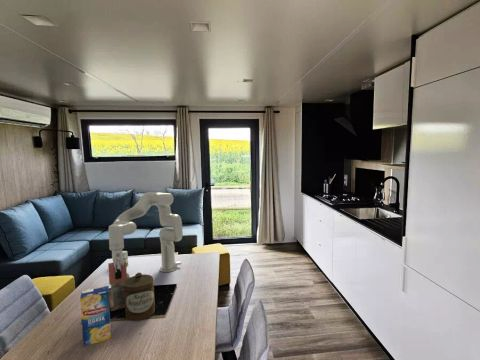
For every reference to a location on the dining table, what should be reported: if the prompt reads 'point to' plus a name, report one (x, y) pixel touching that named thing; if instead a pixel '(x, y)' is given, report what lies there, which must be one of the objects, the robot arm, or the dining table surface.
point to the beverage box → (95, 315)
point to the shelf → (117, 295)
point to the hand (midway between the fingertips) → (118, 276)
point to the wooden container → (139, 297)
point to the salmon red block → (112, 273)
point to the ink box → (125, 257)
